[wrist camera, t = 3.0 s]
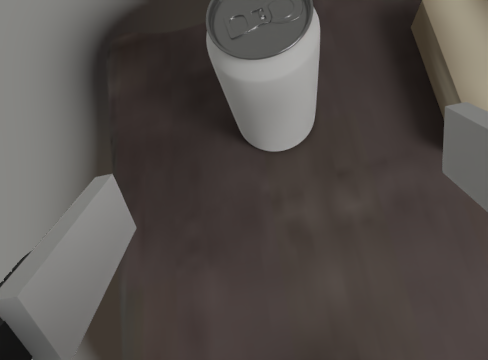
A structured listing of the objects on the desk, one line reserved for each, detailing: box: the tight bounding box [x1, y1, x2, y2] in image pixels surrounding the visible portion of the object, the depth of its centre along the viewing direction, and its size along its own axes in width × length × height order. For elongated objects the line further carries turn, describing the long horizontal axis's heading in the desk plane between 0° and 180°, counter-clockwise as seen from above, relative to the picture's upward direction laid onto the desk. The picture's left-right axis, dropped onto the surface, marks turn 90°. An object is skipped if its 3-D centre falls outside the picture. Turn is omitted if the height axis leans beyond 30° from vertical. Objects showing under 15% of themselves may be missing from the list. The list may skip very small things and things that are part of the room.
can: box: [206, 0, 320, 151], centre depth 24 cm, size 6×6×12 cm
